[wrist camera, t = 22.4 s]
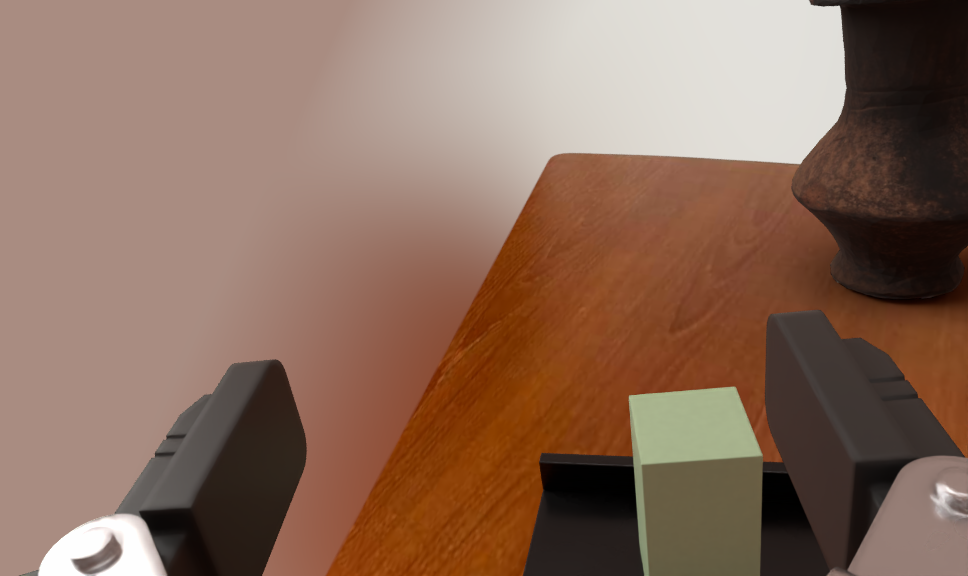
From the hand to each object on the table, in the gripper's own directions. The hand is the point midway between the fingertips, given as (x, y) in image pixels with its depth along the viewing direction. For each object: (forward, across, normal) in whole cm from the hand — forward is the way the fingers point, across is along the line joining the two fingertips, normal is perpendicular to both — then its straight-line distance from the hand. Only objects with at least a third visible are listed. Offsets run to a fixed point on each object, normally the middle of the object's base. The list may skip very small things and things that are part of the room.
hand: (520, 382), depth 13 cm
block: (+15, -5, +22) cm, 28 cm away
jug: (+56, -32, +30) cm, 71 cm away
